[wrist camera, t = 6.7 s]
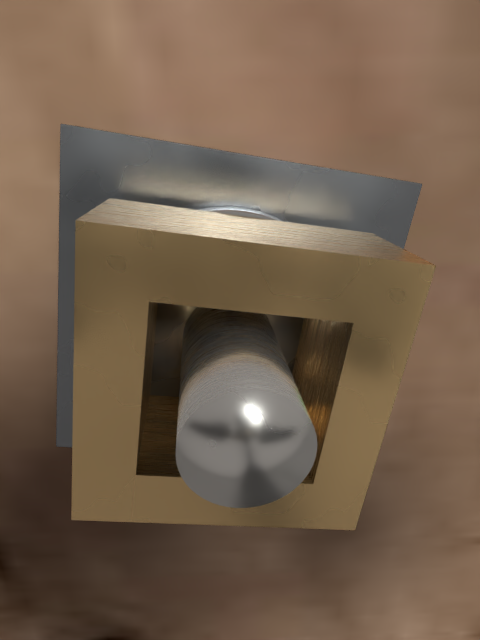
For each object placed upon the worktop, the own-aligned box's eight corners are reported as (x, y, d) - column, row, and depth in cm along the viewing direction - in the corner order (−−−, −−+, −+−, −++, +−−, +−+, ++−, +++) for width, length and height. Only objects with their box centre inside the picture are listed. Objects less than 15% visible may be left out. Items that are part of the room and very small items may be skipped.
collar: (319, 445, 15) (355, 530, 11) (100, 431, 14) (70, 520, 10) (372, 233, 12) (436, 265, 9) (109, 198, 11) (75, 220, 8)
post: (334, 451, 17) (420, 640, 11) (62, 432, 16) (-31, 635, 9) (409, 181, 14) (605, 217, 7) (68, 125, 12) (-75, 103, 6)
